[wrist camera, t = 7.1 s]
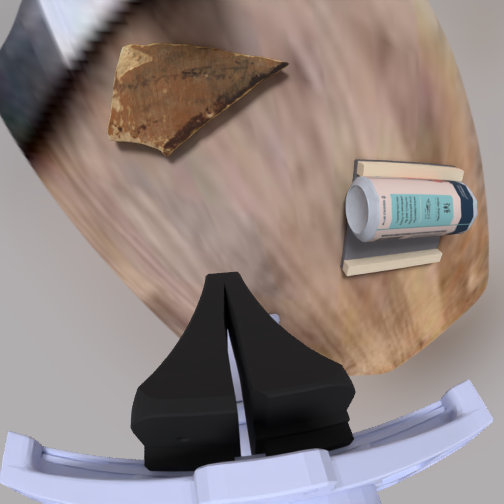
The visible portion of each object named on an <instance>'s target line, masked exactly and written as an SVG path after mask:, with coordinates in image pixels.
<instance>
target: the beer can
mask: <svg viewBox="0 0 504 504" xmlns="http://www.w3.org/2000/svg"><path fill="white" fill-rule="evenodd" d="M346 216H347V221H348V224H349V226H350V228H351V229H352V231H353V233H354V235H355V236H356V237H357V238H358V239H359V240H360V241H362V242H371V241H382V240H393V239H405V238H416V237H428V236H439V235H451V234H461V233H464V232H466V231H467V230H468V229H469V228H470V226H472V224H473V222H474V220H475V218H476V216H477V200H476V199H475V197H474V195H473V193H472V191H471V190H470V189H469V188H468V187H467V186H466V185H465V184H463V183H462V182H459V181H452V180H439V179H424V178H406V177H380V176H360V177H357V178H356V179H355V180H354V181H353V183H352V184H351V186H350V189H349V191H348V193H347V197H346Z"/></svg>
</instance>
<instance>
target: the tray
mask: <svg viewBox="0 0 504 504" xmlns="http://www.w3.org/2000/svg"><path fill="white" fill-rule="evenodd" d="M463 174H464V171H462V170H460V169H458V168H457V167H455V166H448V165H438V164H427V163H415V162H401V161H382V160H355V164H354V174H353V181H354V180H355V179H356V178H357V177H360V176H380V177H406V178H424V179H439V180H452V181H462V179H463ZM440 237H441V235H439V236H428V237H416V238H405V239H393V240H382V241H371V242H362V241H360V240H359V239H358V238H357V237H356V236H355V235H354V233H353V231H352V229H351V228H350V226H349V224H348V222H347V229H346V236H345V242H344V248H343V254H342V260H341V266H340V267H341V268H342V270H343V271H344V273H345V274H346V276H351V275H358V274H365V273H372V272H378V271H385V270H391V269H398V268H404V267H410V266H416V265H422V264H428V263H434V262H440V259H441V256H442V253H441V252H440V251H439V250H438V249H437V247H438V244H439V241H440Z"/></svg>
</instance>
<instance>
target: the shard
mask: <svg viewBox="0 0 504 504" xmlns="http://www.w3.org/2000/svg"><path fill="white" fill-rule="evenodd" d="M287 65H289V63H287V62H282V61H279V60H273V59H269V58H265V57H259V56H248V55H245V54H239V53H233V52H228V51H224V50H221V49H217V48H210V47H199V46H194V45H188V44H178V45H176V44H170V43H166V44H158V43H152V44H149V45H146V46H143V45H128V46H125V47H123V48H122V51H121V54H120V59H119V62H118V66H117V68H116V72H115V80H114V87H113V92H114V93H113V97H112V105H111V116H110V120H109V124H108V129H107V134H108V136H109V139H110V140H112V141H126V142H133V143H140V144H144V145H147V146H150V147H153V148H155V149H158V150H160V151H161V152H162V153H163V154H164V155H165V156H166V157H167V156H169V155H170V154H171V153H172V152H173V151H174V150H175V149H176V148H178V146H179V145H180V144H182V143H183V142H185V141H186V140H187V139H189V138H190V137H191V136H192V135H193V134H194V133H196V132H197V131H198V130H199V129H200V128H202V127H203V126H204V125H205V124H207V123H208V122H209V121H210V120H211V119H213V118H214V117H215V116H217V115H219V114H220V113H221V112H223V111H224V110H226V109H227V108H228V107H229V106H230V105H232V104H234V103H235V102H236V101H238V100H239V99H240V98H242V97H243V96H244V95H246V94H247V93H248V92H249V91H250V90H251V89H253V88H254V87H255V86H256V85H257V84H258V83H260V82H261V81H263V80H264V79H266V78H267V77H269V76H270V75H273V74H276V73H278V72H279V71H280V70H282V69H283V68H285V67H286V66H287Z"/></svg>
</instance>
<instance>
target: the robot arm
mask: <svg viewBox="0 0 504 504" xmlns="http://www.w3.org/2000/svg"><path fill="white" fill-rule="evenodd" d="M279 321H280V318H279V315H278V314H268V313H267V312H266V311H265V309H264V308H263V307H262V306H261V305H260V304H259V302H258V301H257V300H256V298H255V297H254V296H253V295H252V293H251V292H250V290H249V289H248V287H247V286H246V284H245V283H244V281H243V279H242V277H241V275H240V274H239V273H238V272H228V273H216V274H208V275H207V276H206V279H205V284H204V288H203V291H202V295H201V297H200V300H199V302H198V305H197V308H196V310H195V312H194V314H193V316H192V318H191V320H190V322H189V324H188V326H187V328H186V330H185V331H184V333H183V335H182V336H181V338H180V340H179V341H178V343H177V344H176V346H175V347H174V349H173V350H172V351H171V353H170V354H169V355H168V357H167V358H166V359H165V360H164V361H163V362H162V364H161V365H160V366H159V367H158V368H157V369H156V371H155V372H154V373H153V374H152V375H151V376H150V377H149V378H148V379H146V380H145V381H144V383H142V384H141V385H140V386H139V387H138V389H137V392H136V395H135V398H134V402H133V406H132V413H131V429H132V431H133V433H134V434H135V435H136V436H137V438H138V439H139V440H140V441H141V442H142V444H143V445H144V446H145V447H144V449H145V451H144V453H145V454H144V460H136V459H135V460H134V459H121V458H111V457H102V456H94V455H87V454H80V453H74V452H68V451H63V450H58V449H53V448H48V447H44V446H42V445H41V444H40V443H39V442H38V441H36V440H35V439H33V438H31V437H29V436H26V435H22V434H18V433H15V432H11V431H9V432H8V436H7V440H6V445H5V450H4V455H3V460H2V466H1V472H0V483H1V484H3V485H5V486H7V487H9V488H10V489H13V490H14V491H16V492H18V493H20V494H23V495H24V496H26V497H28V498H31V499H33V500H35V501H38V502H41V503H44V504H381V502H380V498H379V496H378V493H377V492H378V491H380V490H383V489H385V488H387V487H389V486H391V485H394V484H396V483H398V482H400V481H402V480H404V479H406V478H408V477H410V476H412V475H414V474H416V473H418V472H420V471H422V470H424V469H426V468H428V467H429V466H431V465H433V464H435V463H436V462H438V461H440V460H442V459H443V458H445V457H447V456H448V455H450V454H452V453H453V452H455V451H457V450H458V449H460V448H461V447H463V446H464V445H466V444H467V443H468V442H469V441H471V440H472V439H473V438H474V437H475V436H477V435H478V434H479V433H480V432H482V431H483V430H484V429H485V428H486V427H487V426H488V425H490V424H491V423H492V422H493V418H492V416H491V415H490V413H489V411H488V409H487V408H486V406H485V404H484V403H483V401H482V399H481V398H480V396H479V394H478V393H477V391H476V390H475V388H474V386H473V385H472V383H471V382H470V380H466V381H464V382H462V383H460V384H458V385H456V386H454V387H453V388H451V389H449V390H448V391H447V392H446V393H445V394H444V395H443V397H442V398H441V400H439V401H437V402H435V403H433V404H430V405H428V406H426V407H424V408H422V409H419V410H417V411H415V412H412V413H410V414H407V415H405V416H402V417H400V418H397V419H394V420H392V421H389V422H386V423H384V424H381V425H378V426H375V427H372V428H369V429H366V430H363V431H360V432H356V433H353V434H352V432H351V429H350V427H349V424H348V421H349V420H350V419H349V415H348V413H347V408H348V407H349V405H350V403H351V401H352V399H353V398H354V395H355V388H354V386H353V384H352V381H351V380H350V378H349V376H348V374H347V373H346V371H345V370H344V368H343V366H342V365H341V364H339V363H337V362H335V361H332V360H330V359H328V358H326V357H324V356H322V355H320V354H319V353H317V352H315V351H314V350H312V349H310V348H309V347H307V346H306V345H304V344H303V343H302V342H300V341H299V340H297V339H296V338H295V337H293V336H292V335H291V334H290V333H288V332H287V331H286V330H285V329H284V328H282V327H281V326H280V325H279Z"/></svg>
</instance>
